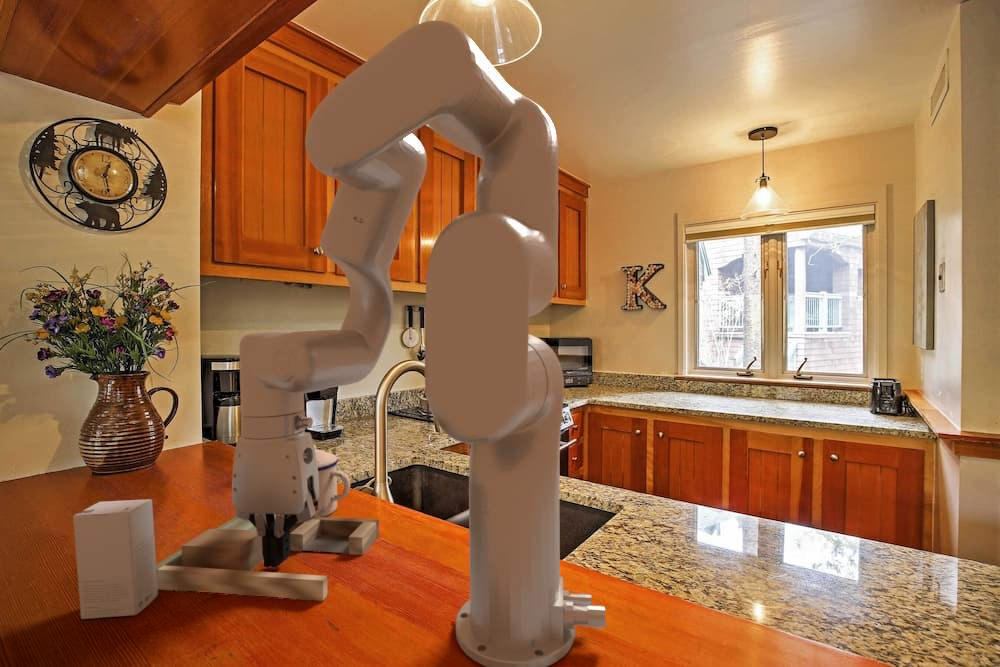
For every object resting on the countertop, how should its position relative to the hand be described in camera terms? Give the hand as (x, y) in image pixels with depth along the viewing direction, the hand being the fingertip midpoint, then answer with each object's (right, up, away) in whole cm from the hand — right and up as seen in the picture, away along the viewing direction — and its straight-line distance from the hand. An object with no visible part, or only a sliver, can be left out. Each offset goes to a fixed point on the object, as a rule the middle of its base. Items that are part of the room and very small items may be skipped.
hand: (276, 561), depth 62 cm
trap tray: (-1, -1, +2) cm, 3 cm away
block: (-7, -1, 0) cm, 7 cm away
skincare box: (-14, -2, -8) cm, 17 cm away
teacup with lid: (-2, -1, +19) cm, 19 cm away
